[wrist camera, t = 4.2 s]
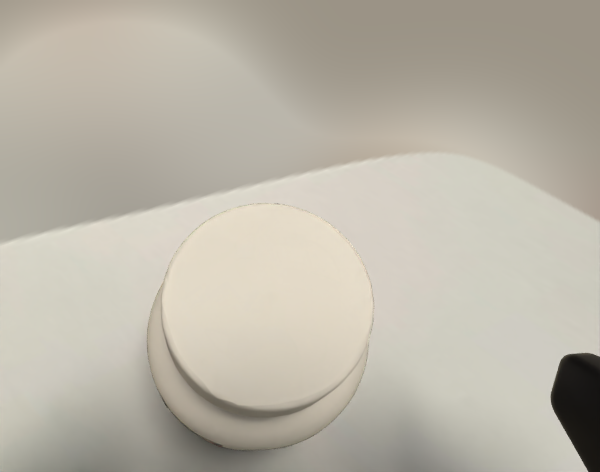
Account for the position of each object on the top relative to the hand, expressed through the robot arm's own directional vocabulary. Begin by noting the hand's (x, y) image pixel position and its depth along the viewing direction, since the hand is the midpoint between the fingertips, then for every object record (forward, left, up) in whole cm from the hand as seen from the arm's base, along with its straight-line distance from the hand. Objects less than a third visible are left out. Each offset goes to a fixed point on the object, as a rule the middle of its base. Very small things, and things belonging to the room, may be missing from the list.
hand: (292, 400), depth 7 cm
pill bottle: (+1, +1, -10) cm, 10 cm away
